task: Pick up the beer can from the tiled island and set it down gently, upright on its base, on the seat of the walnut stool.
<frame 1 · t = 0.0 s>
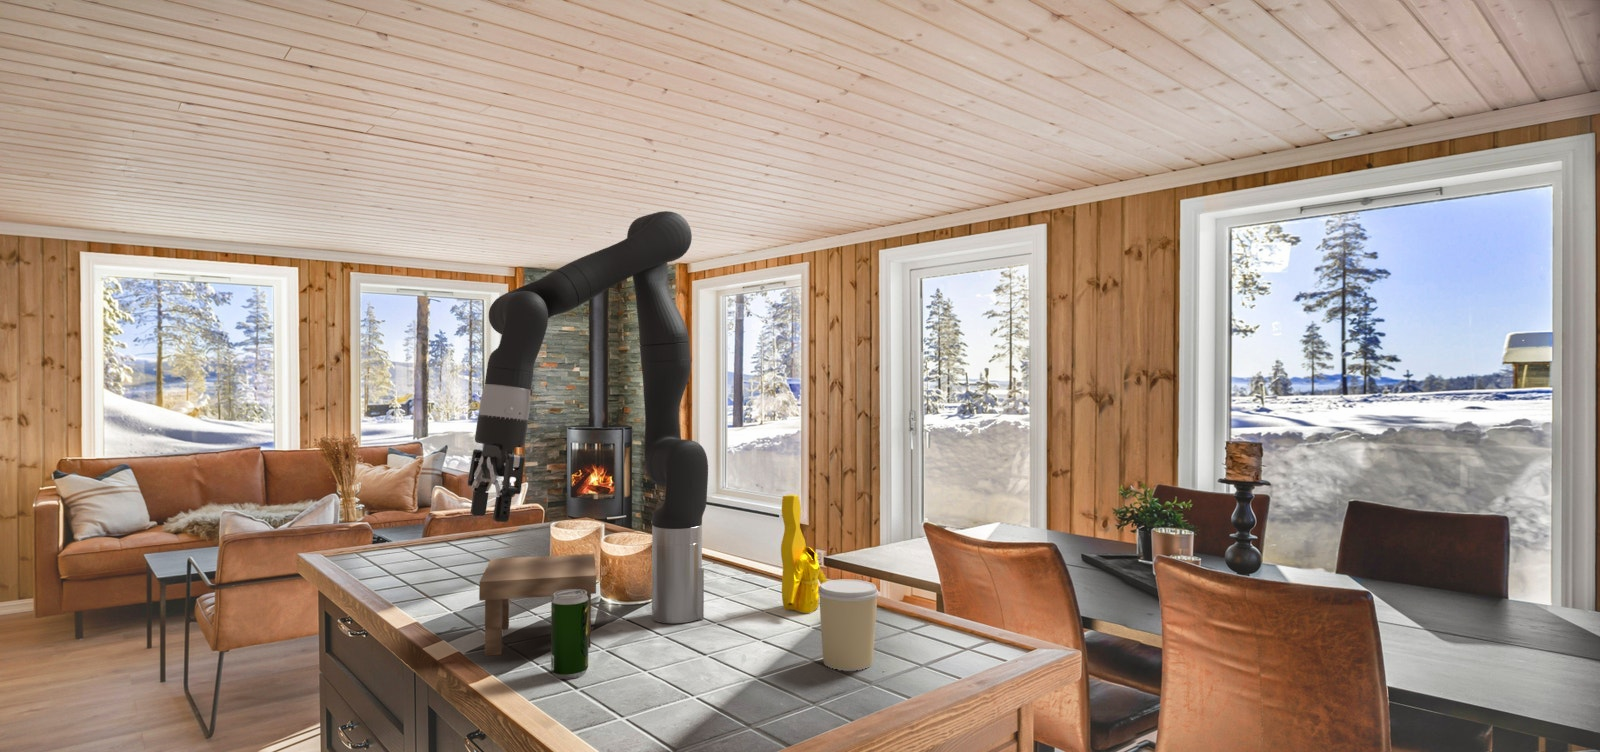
hand: (488, 518, 128), 22 cm above the table, tool pointing down, fingers open, 8 cm apart
beer can: (569, 674, 123), on the table
yellow raincoat figure: (800, 609, 159), on the table
coffee cup: (847, 664, 128), on the table
walnut stool: (540, 636, 141), on the table
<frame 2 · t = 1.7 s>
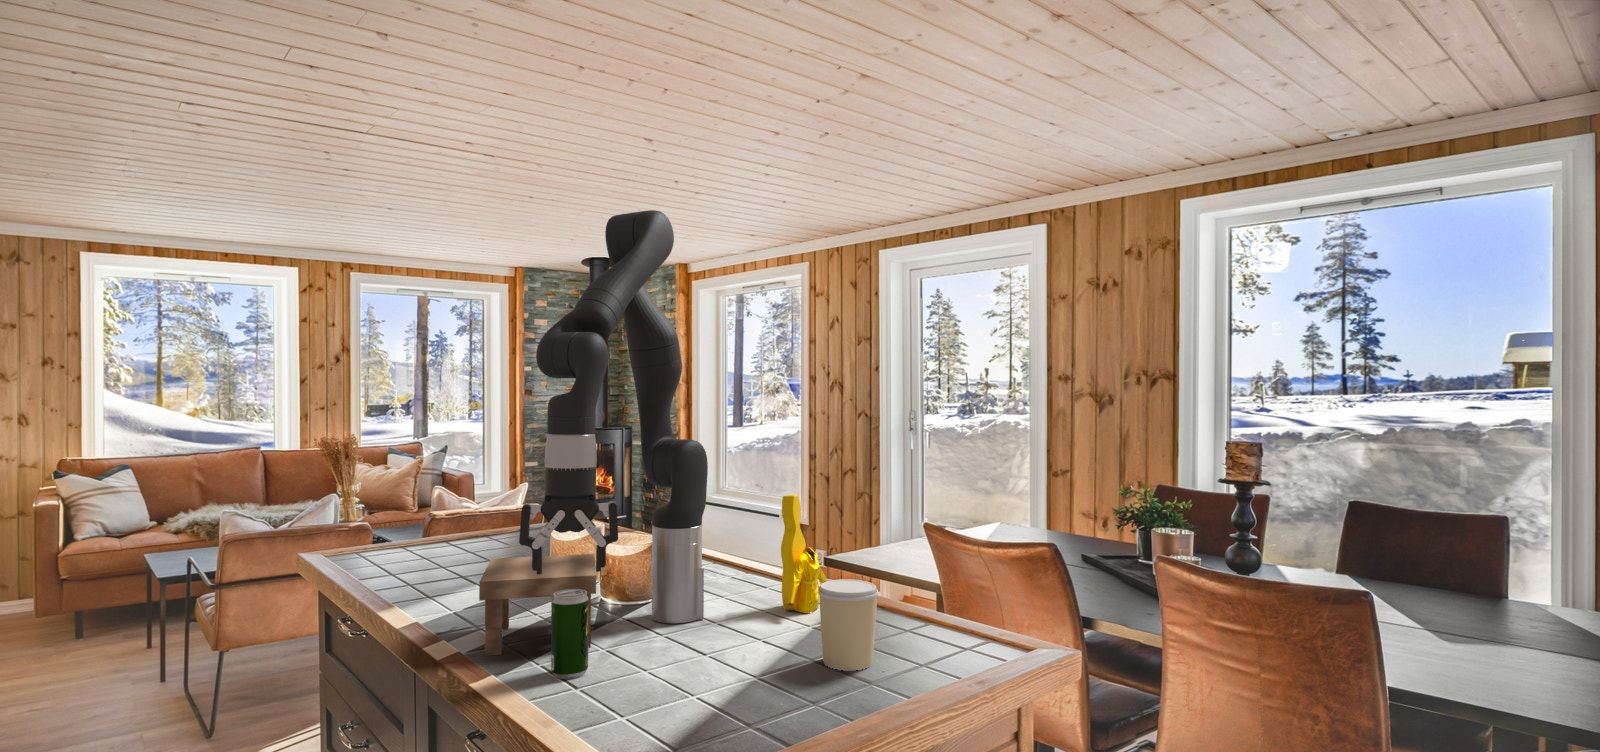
hand: (569, 572, 123), 15 cm above the table, tool pointing down, fingers open, 8 cm apart
nothing on the table moved.
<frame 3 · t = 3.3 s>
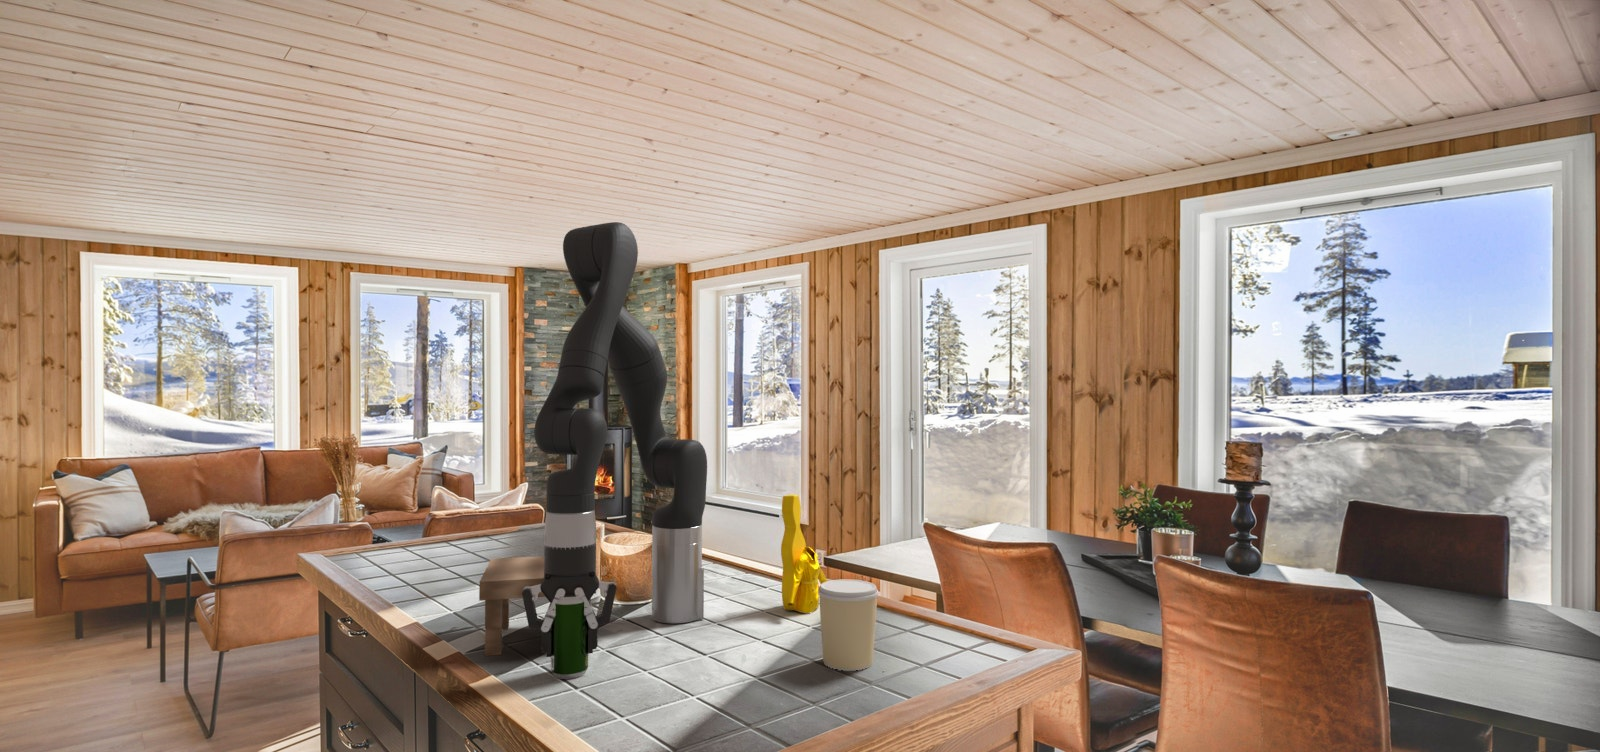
hand: (569, 653, 123), 3 cm above the table, tool pointing down, fingers closed on beer can, 5 cm apart
beer can: (569, 674, 123), on the table, touching gripper
everything else where it was.
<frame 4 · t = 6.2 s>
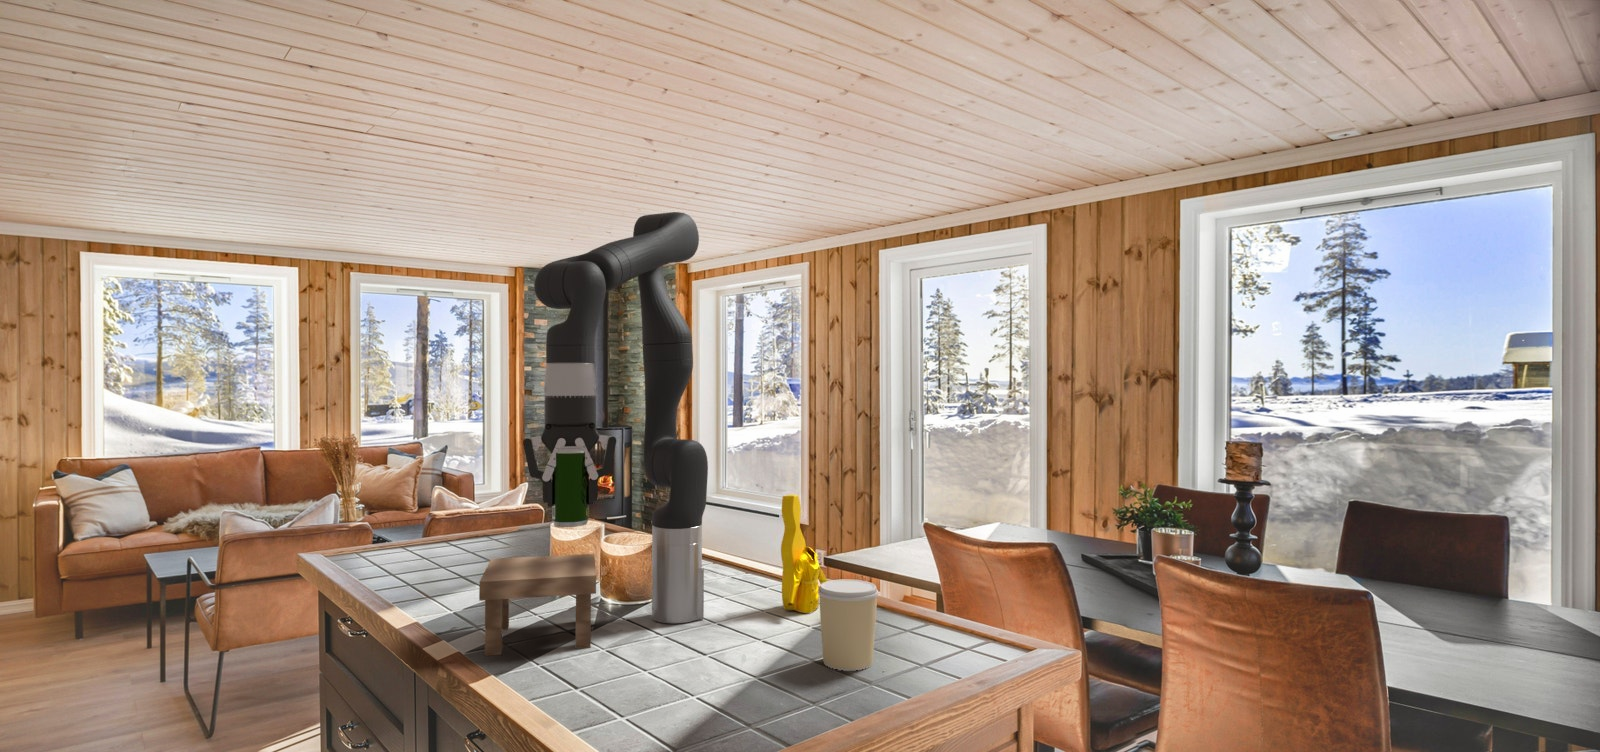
hand: (570, 504, 124), 25 cm above the table, tool pointing down, fingers closed on beer can, 5 cm apart
beer can: (570, 525, 124), point 22 cm above the table, touching gripper
everything else where it was.
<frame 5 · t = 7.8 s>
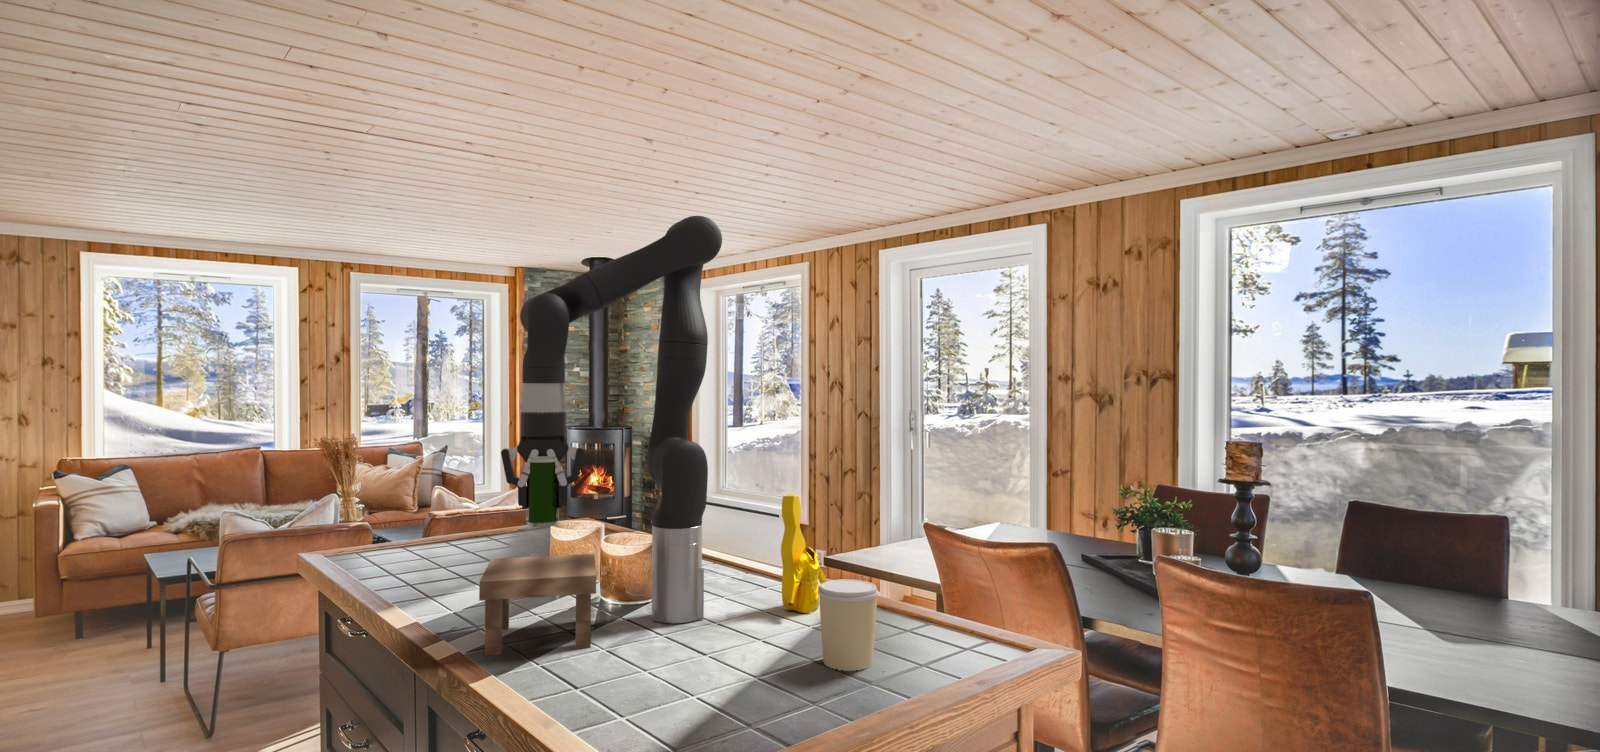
hand: (542, 507, 141), 22 cm above the table, tool pointing down, fingers closed on beer can, 5 cm apart
beer can: (542, 526, 141), point 19 cm above the table, touching gripper
everything else where it was.
when the fingers open (16 cm above the table, at t = 9.3 s): beer can drops 1 cm, resting on walnut stool.
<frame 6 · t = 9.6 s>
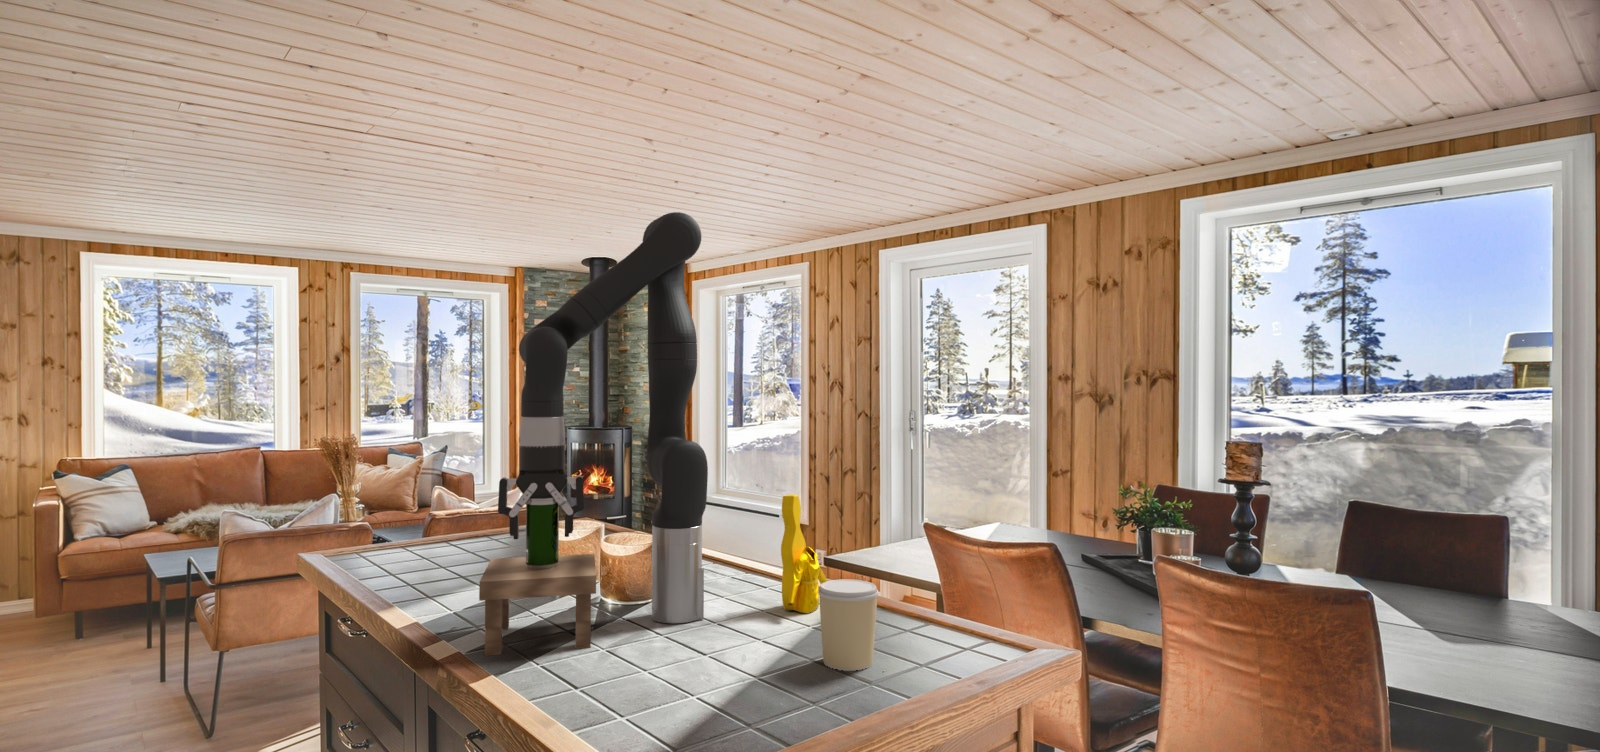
hand: (541, 537, 141), 17 cm above the table, tool pointing down, fingers open, 8 cm apart
beer can: (542, 567, 141), point 12 cm above the table, touching walnut stool
everything else where it was.
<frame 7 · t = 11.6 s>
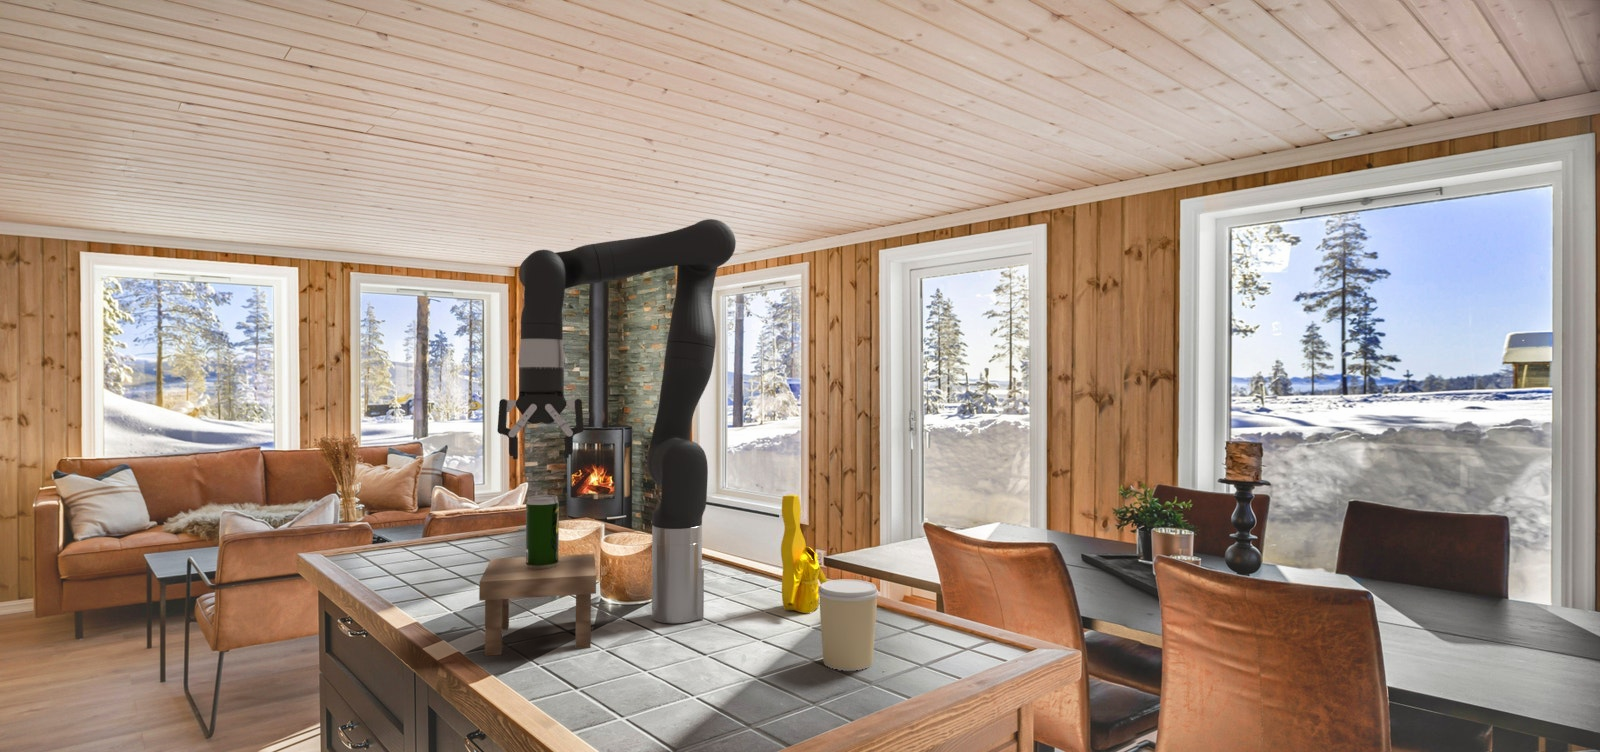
hand: (541, 458, 143), 30 cm above the table, tool pointing down, fingers open, 8 cm apart
nothing on the table moved.
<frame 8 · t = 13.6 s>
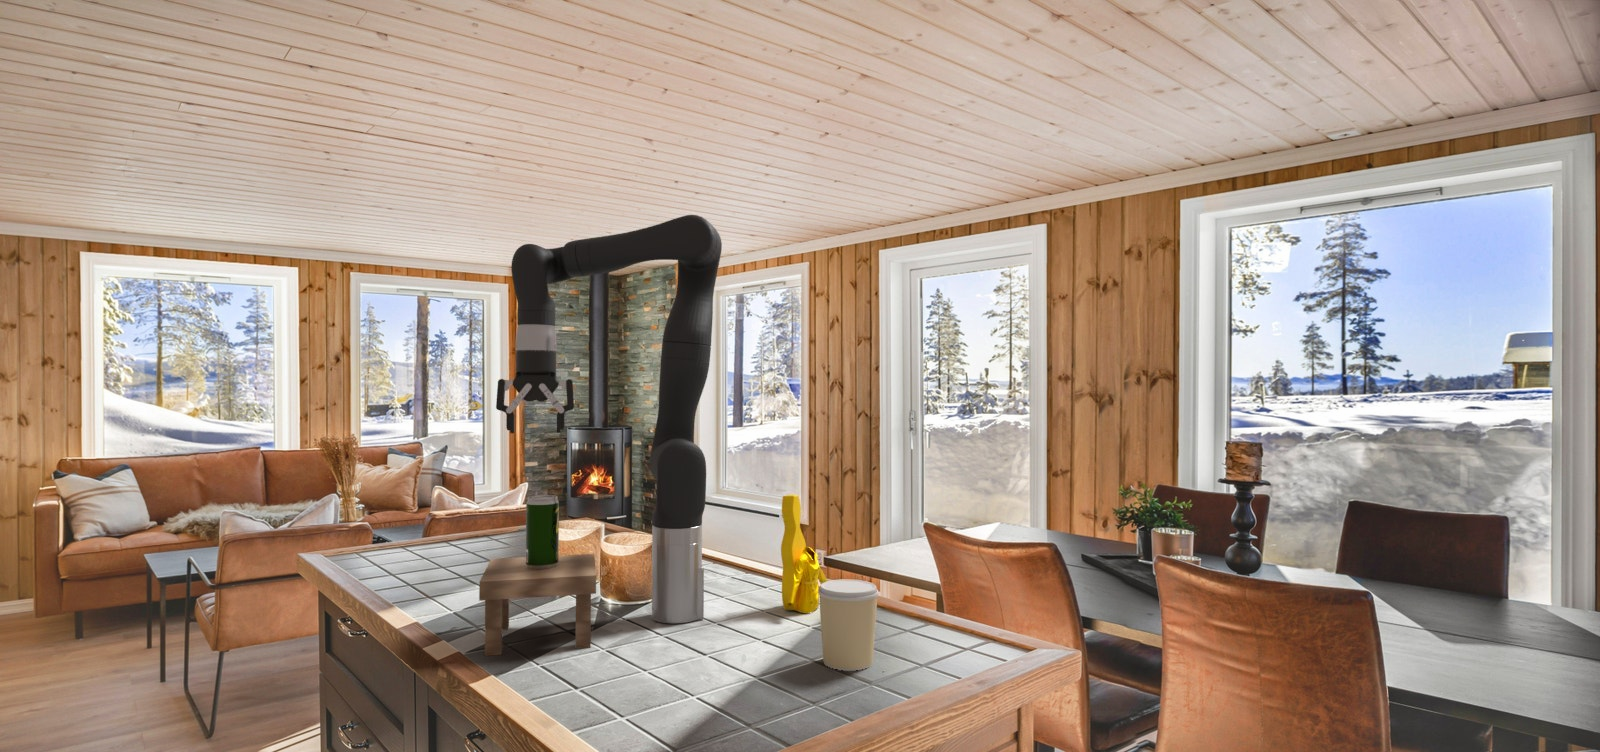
hand: (535, 432, 158), 34 cm above the table, tool pointing down, fingers open, 8 cm apart
nothing on the table moved.
at the end: beer can inside the target area on the walnut stool (0.1 cm from its centre), point 11.8 cm above the walnut stool's base; beer can tilted 0°; the gripper is holding nothing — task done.
